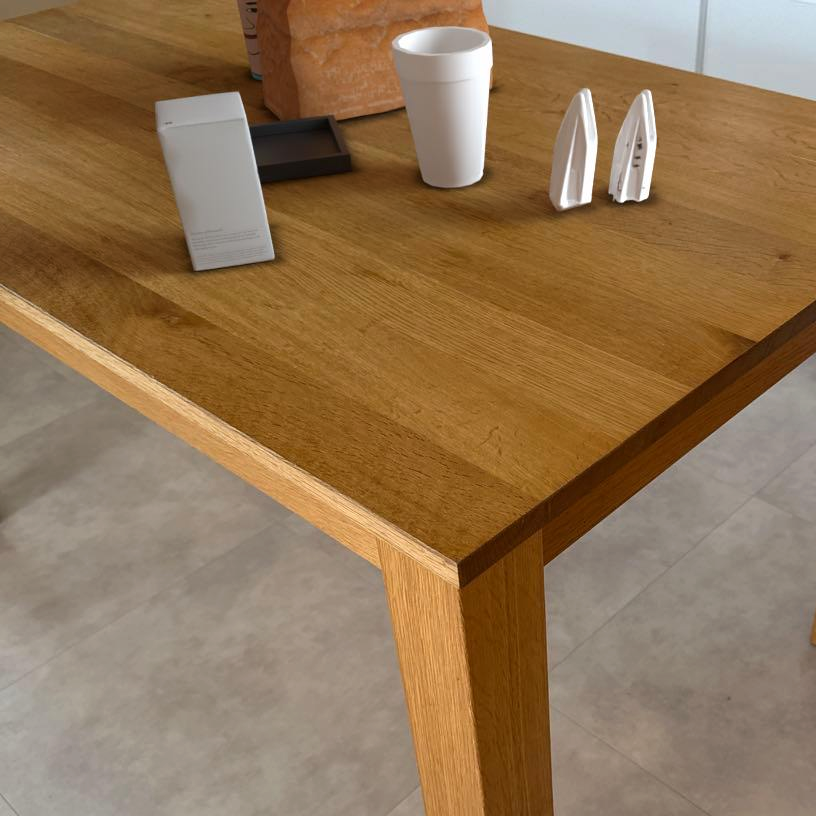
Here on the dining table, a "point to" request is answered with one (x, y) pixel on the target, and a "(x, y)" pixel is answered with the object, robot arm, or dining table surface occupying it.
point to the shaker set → (580, 151)
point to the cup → (251, 34)
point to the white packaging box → (214, 179)
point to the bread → (344, 51)
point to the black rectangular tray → (299, 148)
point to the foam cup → (446, 100)
